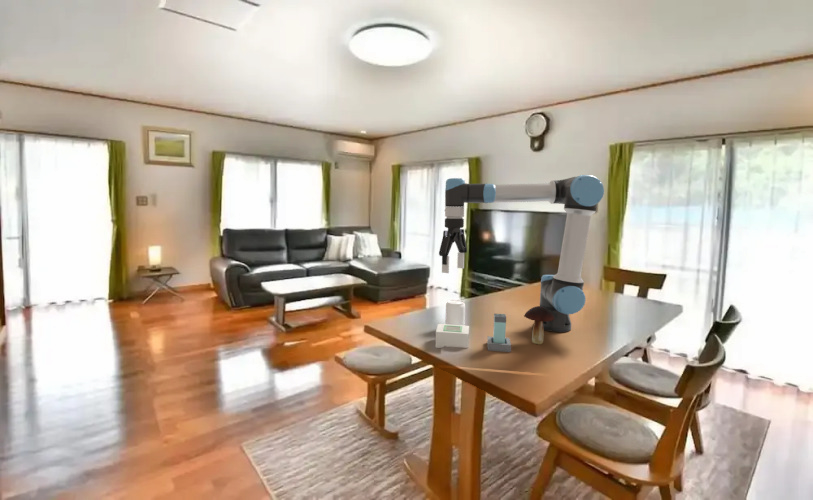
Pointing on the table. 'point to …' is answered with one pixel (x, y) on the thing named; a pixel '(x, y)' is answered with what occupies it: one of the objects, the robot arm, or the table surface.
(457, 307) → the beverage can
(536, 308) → the decorative mushroom
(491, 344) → the holster
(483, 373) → the table surface
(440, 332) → the port block
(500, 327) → the light blue tall block
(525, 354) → the table surface
